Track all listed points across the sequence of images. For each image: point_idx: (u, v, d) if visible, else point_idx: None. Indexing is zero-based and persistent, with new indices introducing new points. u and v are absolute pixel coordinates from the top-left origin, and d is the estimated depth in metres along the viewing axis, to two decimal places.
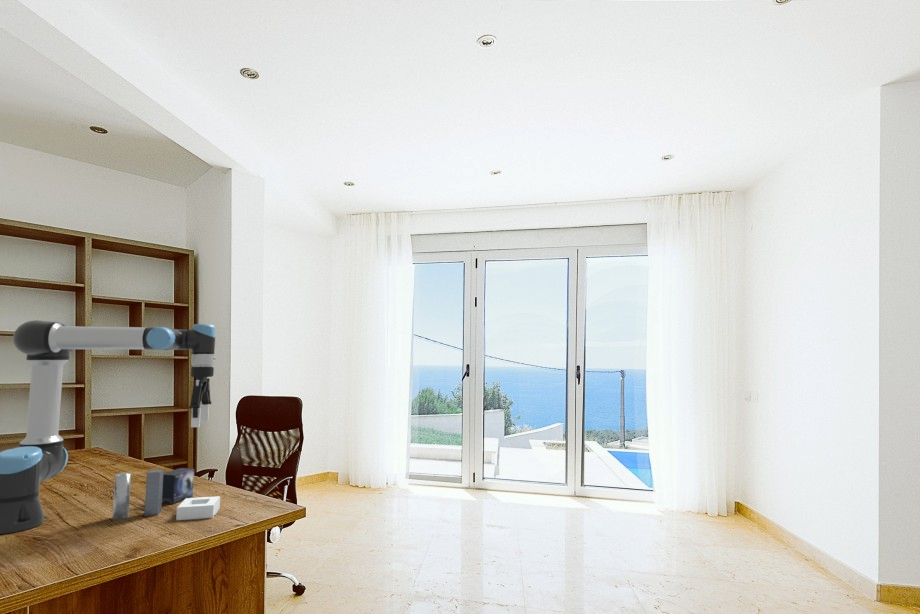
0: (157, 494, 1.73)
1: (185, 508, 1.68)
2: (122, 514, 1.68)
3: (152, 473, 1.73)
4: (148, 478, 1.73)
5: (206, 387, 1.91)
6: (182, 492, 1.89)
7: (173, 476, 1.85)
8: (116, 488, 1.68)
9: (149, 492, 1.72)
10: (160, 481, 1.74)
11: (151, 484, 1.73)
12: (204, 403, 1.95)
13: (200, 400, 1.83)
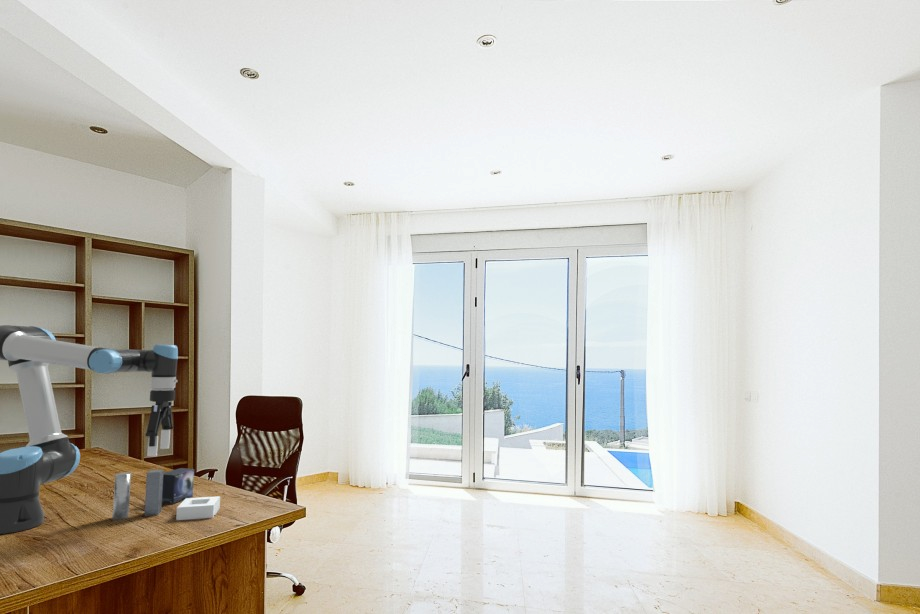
0: (157, 494, 1.73)
1: (185, 508, 1.68)
2: (122, 514, 1.68)
3: (152, 473, 1.73)
4: (148, 478, 1.73)
5: (167, 412, 1.79)
6: (182, 492, 1.89)
7: (173, 476, 1.85)
8: (116, 488, 1.68)
9: (149, 492, 1.72)
10: (160, 481, 1.74)
11: (151, 484, 1.73)
12: (165, 428, 1.83)
13: (158, 427, 1.70)
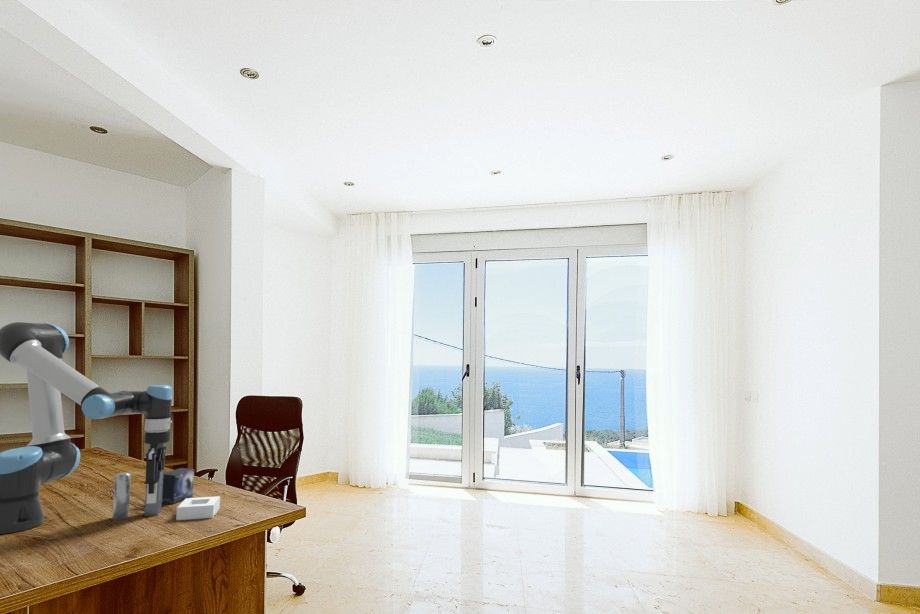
0: (157, 494, 1.73)
1: (185, 508, 1.68)
2: (122, 514, 1.68)
3: None
4: None
5: (161, 453, 1.77)
6: (182, 492, 1.89)
7: (173, 476, 1.85)
8: (116, 488, 1.68)
9: None
10: (160, 481, 1.74)
11: None
12: None
13: (156, 474, 1.72)
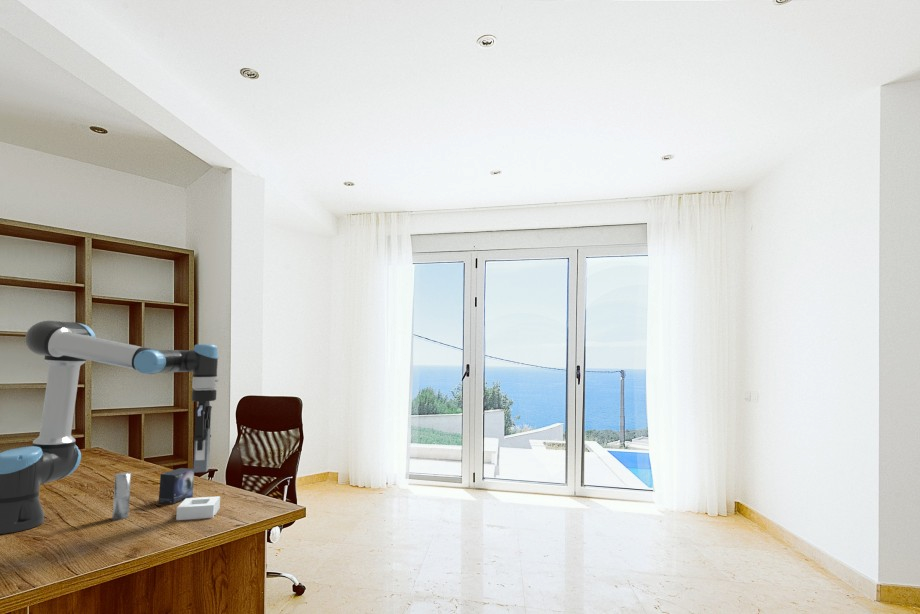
0: (205, 451, 1.74)
1: (185, 508, 1.68)
2: (122, 514, 1.68)
3: None
4: None
5: (208, 412, 1.78)
6: (182, 492, 1.89)
7: (173, 476, 1.85)
8: (116, 488, 1.68)
9: None
10: (208, 438, 1.75)
11: None
12: None
13: (204, 431, 1.73)
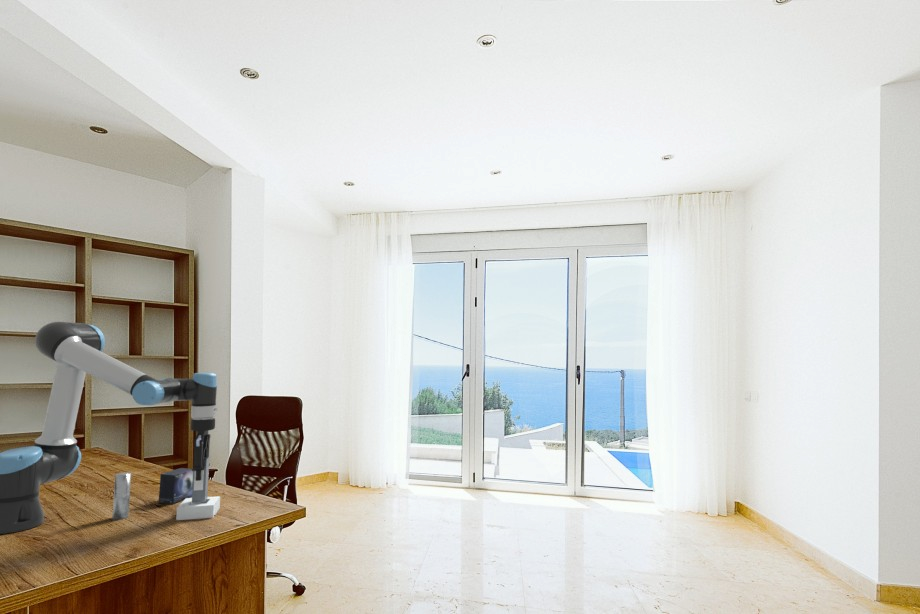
0: (204, 481, 1.73)
1: (185, 508, 1.68)
2: (122, 514, 1.68)
3: None
4: None
5: (206, 441, 1.77)
6: (182, 492, 1.89)
7: (173, 476, 1.85)
8: (116, 488, 1.68)
9: None
10: (206, 468, 1.75)
11: None
12: None
13: (203, 460, 1.72)
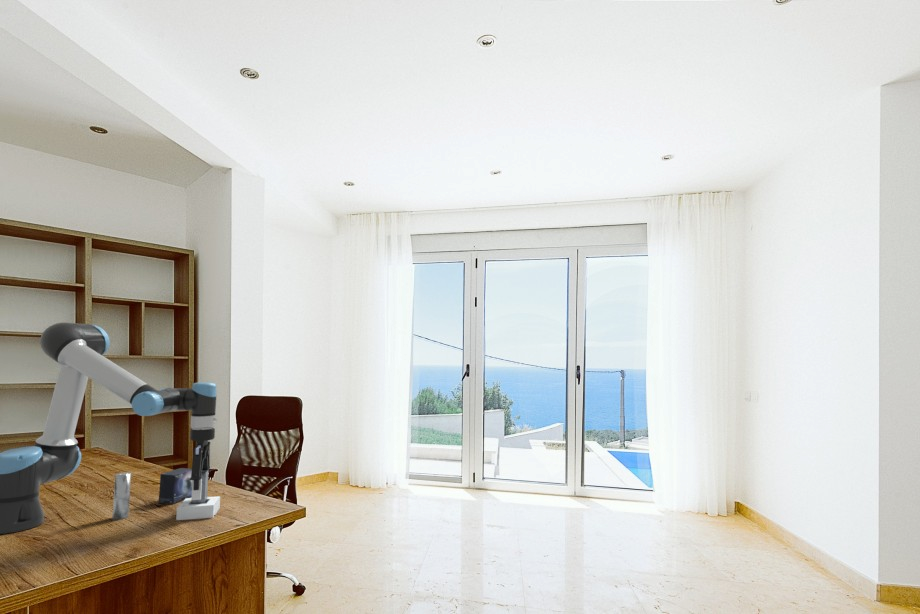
0: (203, 494, 1.73)
1: (185, 508, 1.68)
2: (122, 514, 1.68)
3: None
4: None
5: (206, 451, 1.77)
6: (182, 492, 1.89)
7: (173, 476, 1.85)
8: (116, 488, 1.68)
9: None
10: (206, 481, 1.74)
11: None
12: None
13: (201, 470, 1.71)
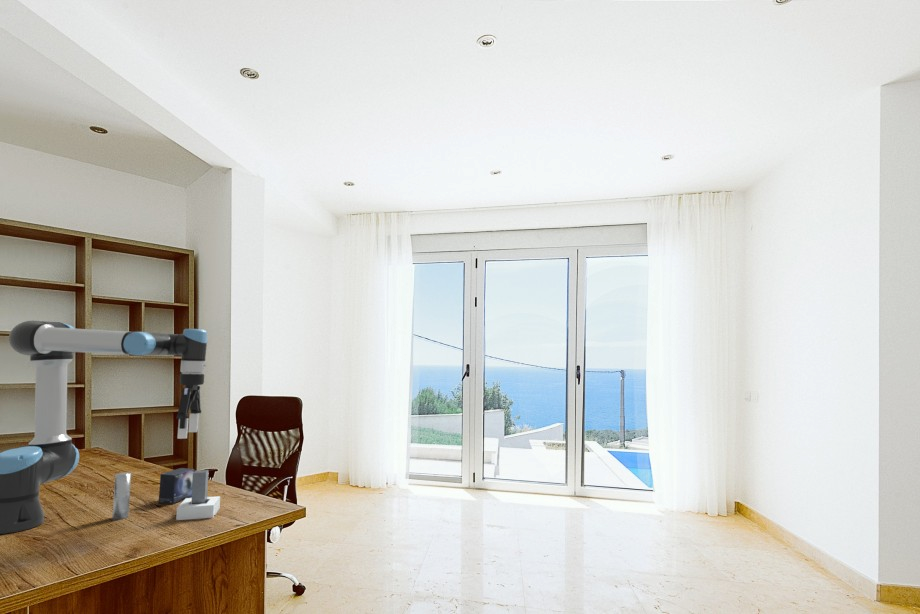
0: (203, 494, 1.73)
1: (185, 508, 1.68)
2: (122, 514, 1.68)
3: (198, 473, 1.73)
4: (194, 478, 1.72)
5: (196, 395, 1.81)
6: (182, 492, 1.89)
7: (173, 476, 1.85)
8: (116, 488, 1.68)
9: (195, 492, 1.72)
10: (206, 481, 1.74)
11: (197, 484, 1.72)
12: (193, 412, 1.85)
13: (188, 410, 1.72)
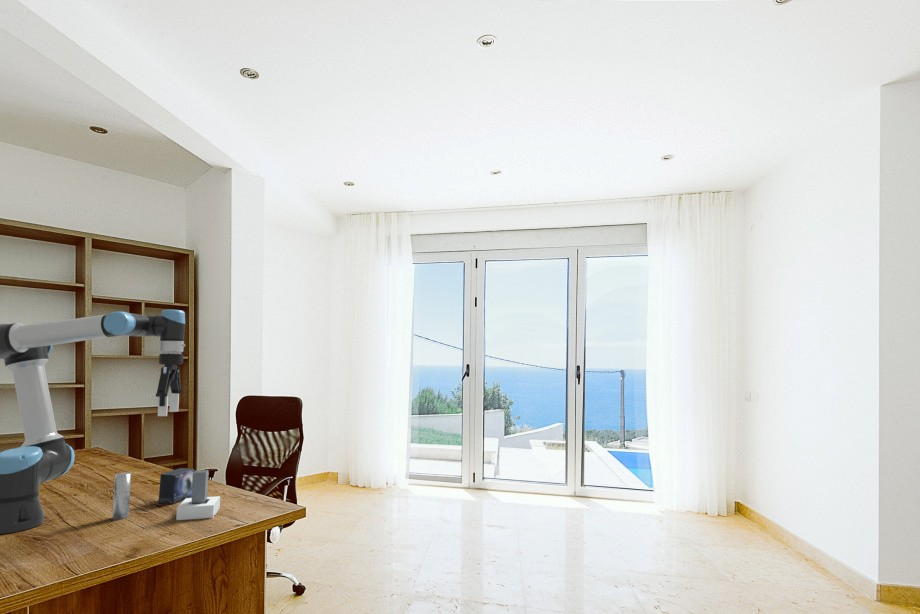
0: (203, 494, 1.73)
1: (185, 508, 1.68)
2: (122, 514, 1.68)
3: (198, 473, 1.73)
4: (194, 478, 1.72)
5: (175, 375, 1.84)
6: (182, 492, 1.89)
7: (173, 476, 1.85)
8: (116, 488, 1.68)
9: (195, 492, 1.72)
10: (206, 481, 1.74)
11: (197, 484, 1.72)
12: (174, 392, 1.88)
13: (168, 388, 1.76)
